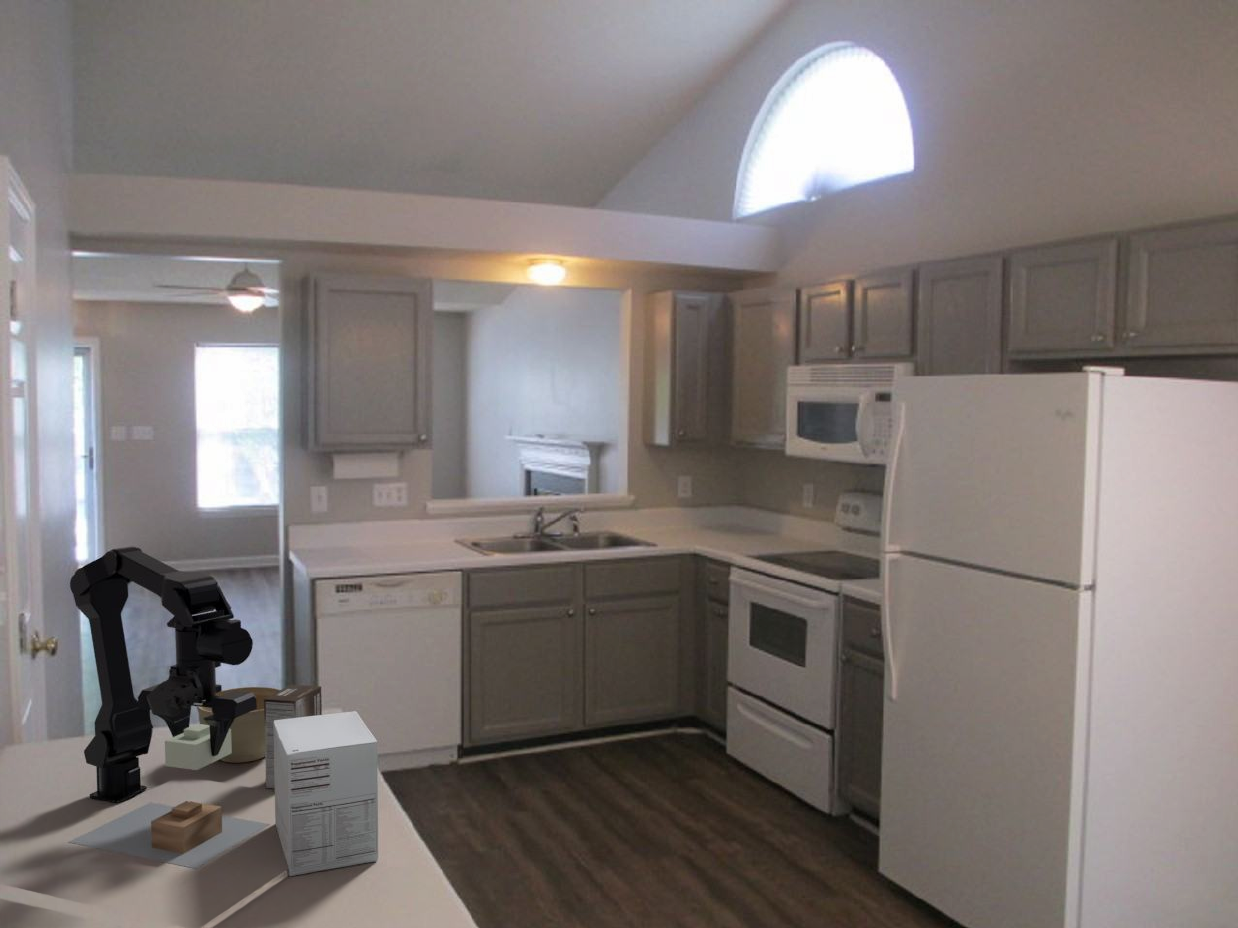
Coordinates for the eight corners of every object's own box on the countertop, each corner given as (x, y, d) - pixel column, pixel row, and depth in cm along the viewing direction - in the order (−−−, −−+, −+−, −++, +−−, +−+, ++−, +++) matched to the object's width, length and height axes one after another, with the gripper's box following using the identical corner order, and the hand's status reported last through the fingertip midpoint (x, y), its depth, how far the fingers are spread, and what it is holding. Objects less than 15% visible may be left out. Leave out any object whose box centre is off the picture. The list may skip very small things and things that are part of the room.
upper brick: (196, 769, 158) (195, 737, 158) (165, 765, 160) (164, 733, 160) (231, 753, 166) (230, 721, 166) (201, 749, 168) (200, 718, 167)
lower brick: (183, 853, 150) (182, 819, 150) (151, 847, 152) (150, 813, 152) (222, 831, 158) (221, 799, 157) (191, 825, 160) (190, 793, 159)
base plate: (68, 849, 154) (68, 841, 154) (150, 809, 169) (150, 801, 169) (196, 876, 146) (196, 868, 145) (270, 831, 161) (270, 824, 160)
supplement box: (381, 861, 151) (380, 741, 150) (287, 878, 145) (285, 754, 144) (358, 817, 167) (357, 708, 165) (273, 831, 161) (271, 718, 160)
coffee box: (291, 769, 187) (290, 683, 186) (323, 772, 186) (322, 685, 185) (264, 788, 178) (263, 697, 177) (298, 791, 177) (296, 700, 176)
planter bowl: (178, 763, 189) (177, 706, 189) (239, 736, 204) (238, 682, 204) (249, 775, 184) (247, 716, 183) (306, 746, 199) (305, 691, 198)
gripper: (108, 664, 157) (112, 764, 158) (208, 674, 151) (211, 777, 152) (162, 647, 168) (165, 741, 169) (257, 656, 162) (260, 752, 163)
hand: (198, 753), depth 163 cm, fingers closed on upper brick, 6 cm apart
